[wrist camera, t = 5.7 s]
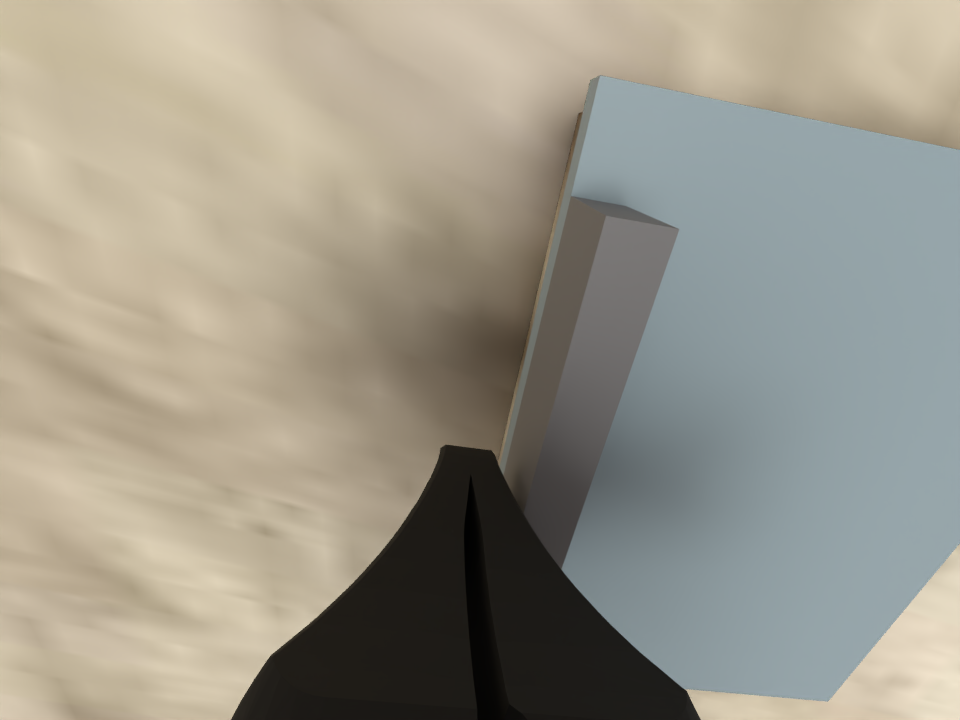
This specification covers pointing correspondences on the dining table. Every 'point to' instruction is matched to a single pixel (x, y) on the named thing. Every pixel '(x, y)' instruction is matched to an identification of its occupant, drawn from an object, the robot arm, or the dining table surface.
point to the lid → (744, 386)
